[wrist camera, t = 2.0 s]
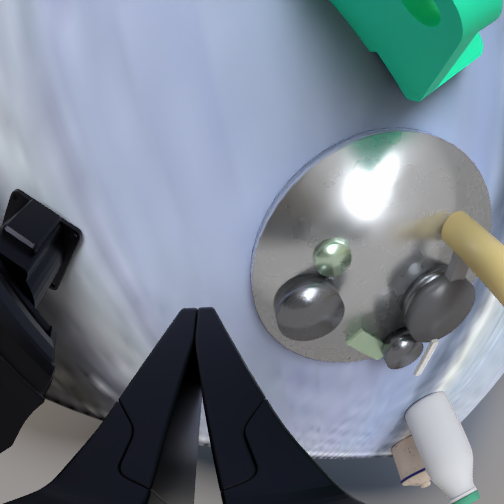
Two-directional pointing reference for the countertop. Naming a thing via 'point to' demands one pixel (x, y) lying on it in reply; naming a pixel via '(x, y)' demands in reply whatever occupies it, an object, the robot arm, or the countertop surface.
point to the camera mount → (421, 37)
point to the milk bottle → (443, 447)
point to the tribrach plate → (361, 244)
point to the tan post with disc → (456, 283)
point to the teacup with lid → (410, 463)
